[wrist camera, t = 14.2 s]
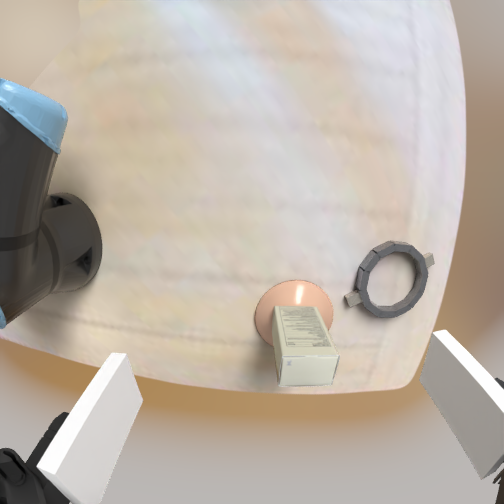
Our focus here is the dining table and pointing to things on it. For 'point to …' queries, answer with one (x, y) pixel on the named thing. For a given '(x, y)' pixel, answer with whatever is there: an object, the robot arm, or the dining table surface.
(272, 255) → the dining table surface
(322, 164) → the dining table surface
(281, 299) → the peach dome button
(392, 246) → the bayonet collar
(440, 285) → the dining table surface
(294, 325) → the skincare box
